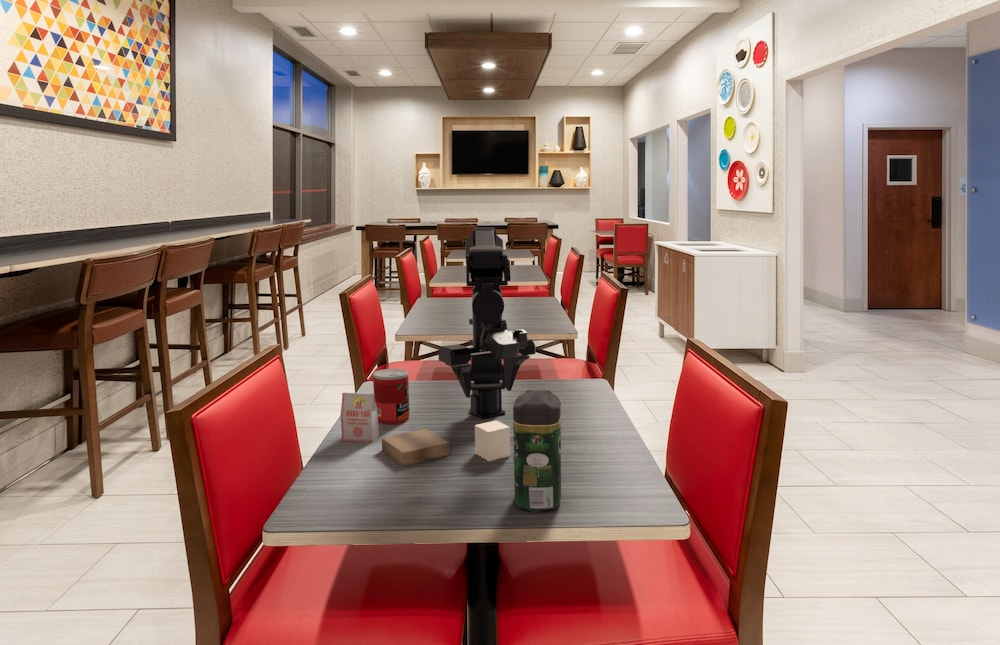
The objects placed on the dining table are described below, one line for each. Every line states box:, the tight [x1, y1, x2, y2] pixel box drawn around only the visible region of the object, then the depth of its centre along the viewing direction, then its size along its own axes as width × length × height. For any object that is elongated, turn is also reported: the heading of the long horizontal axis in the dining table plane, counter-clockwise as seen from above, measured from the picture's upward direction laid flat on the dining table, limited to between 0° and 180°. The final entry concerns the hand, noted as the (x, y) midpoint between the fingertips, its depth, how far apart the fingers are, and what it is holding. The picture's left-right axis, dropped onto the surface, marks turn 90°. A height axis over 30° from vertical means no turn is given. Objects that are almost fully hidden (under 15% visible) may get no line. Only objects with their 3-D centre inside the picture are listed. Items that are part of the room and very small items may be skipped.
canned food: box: [372, 368, 411, 425], centre depth 161 cm, size 8×8×11 cm
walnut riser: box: [381, 428, 450, 467], centre depth 141 cm, size 10×10×3 cm
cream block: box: [474, 419, 511, 462], centre depth 139 cm, size 5×5×6 cm
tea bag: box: [340, 392, 380, 443], centre depth 149 cm, size 4×7×10 cm, turn 81°
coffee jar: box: [512, 389, 562, 512], centre depth 117 cm, size 10×8×19 cm
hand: (488, 393), depth 137 cm, fingers open, 9 cm apart
